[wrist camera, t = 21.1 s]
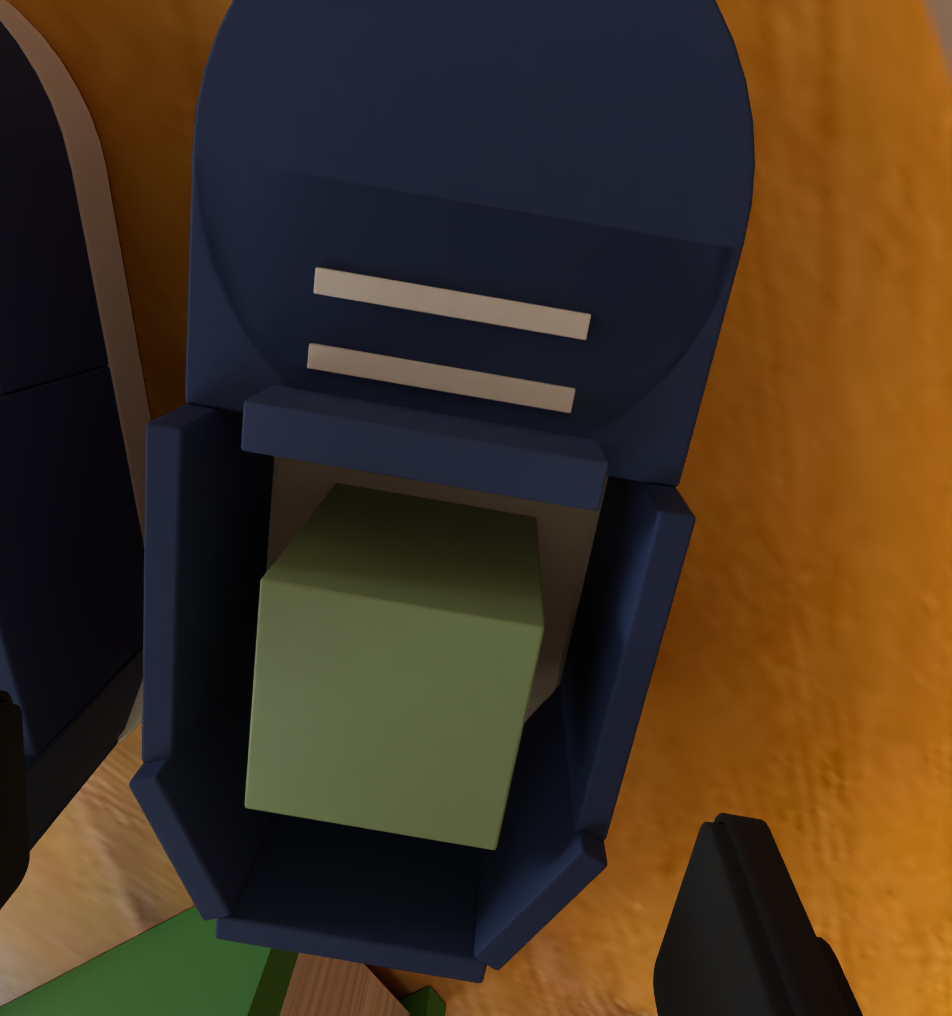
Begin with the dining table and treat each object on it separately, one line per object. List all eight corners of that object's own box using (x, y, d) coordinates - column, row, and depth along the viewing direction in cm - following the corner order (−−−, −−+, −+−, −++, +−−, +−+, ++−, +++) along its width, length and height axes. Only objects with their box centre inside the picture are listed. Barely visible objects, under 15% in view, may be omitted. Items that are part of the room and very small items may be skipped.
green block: (335, 481, 17) (259, 578, 12) (537, 516, 17) (545, 627, 12) (317, 658, 18) (243, 808, 13) (502, 689, 18) (496, 852, 13)
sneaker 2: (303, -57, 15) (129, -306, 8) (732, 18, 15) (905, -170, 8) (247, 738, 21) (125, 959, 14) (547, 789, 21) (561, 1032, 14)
